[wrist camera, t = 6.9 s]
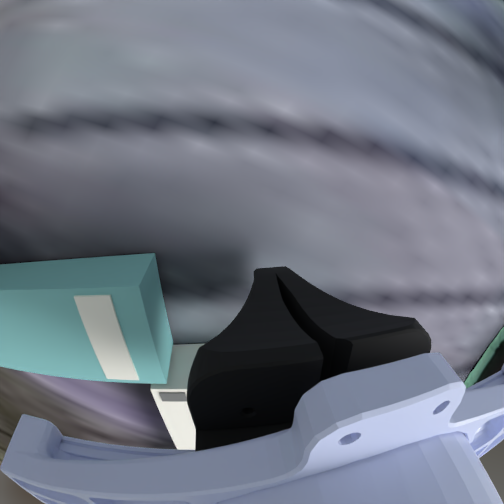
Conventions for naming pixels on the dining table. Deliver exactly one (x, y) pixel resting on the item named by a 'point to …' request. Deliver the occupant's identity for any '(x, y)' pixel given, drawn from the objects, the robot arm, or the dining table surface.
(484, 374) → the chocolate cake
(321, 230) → the dining table surface
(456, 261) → the dining table surface
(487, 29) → the dining table surface
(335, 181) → the dining table surface
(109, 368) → the stub
